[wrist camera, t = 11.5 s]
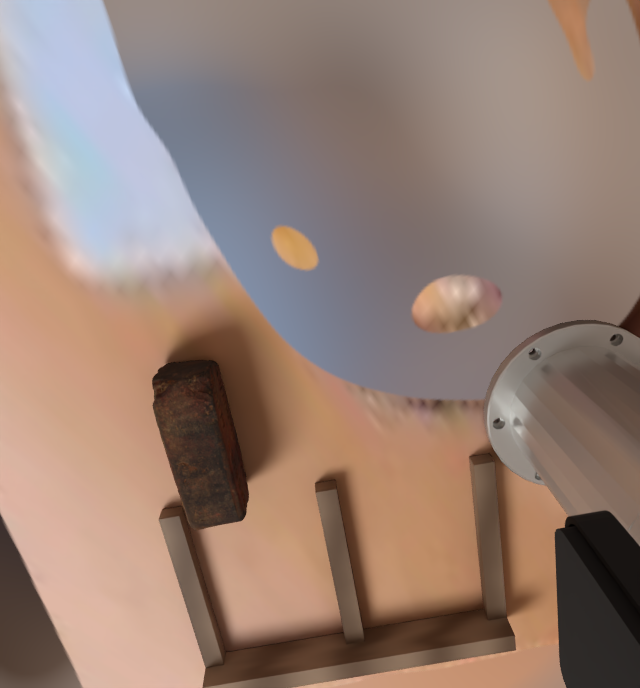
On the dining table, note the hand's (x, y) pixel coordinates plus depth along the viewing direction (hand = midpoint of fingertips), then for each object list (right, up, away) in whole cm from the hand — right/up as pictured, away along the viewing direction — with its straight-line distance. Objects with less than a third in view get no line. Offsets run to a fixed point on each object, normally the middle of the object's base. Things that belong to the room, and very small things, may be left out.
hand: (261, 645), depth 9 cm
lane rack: (+3, -13, +37) cm, 39 cm away
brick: (-7, -1, +33) cm, 33 cm away
